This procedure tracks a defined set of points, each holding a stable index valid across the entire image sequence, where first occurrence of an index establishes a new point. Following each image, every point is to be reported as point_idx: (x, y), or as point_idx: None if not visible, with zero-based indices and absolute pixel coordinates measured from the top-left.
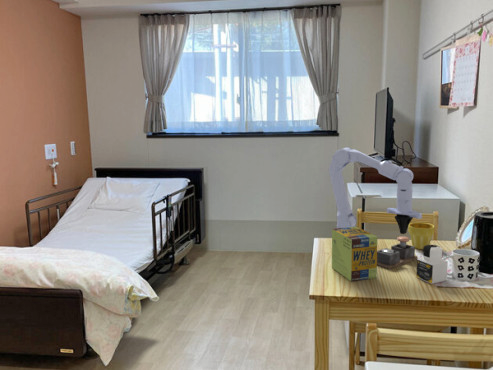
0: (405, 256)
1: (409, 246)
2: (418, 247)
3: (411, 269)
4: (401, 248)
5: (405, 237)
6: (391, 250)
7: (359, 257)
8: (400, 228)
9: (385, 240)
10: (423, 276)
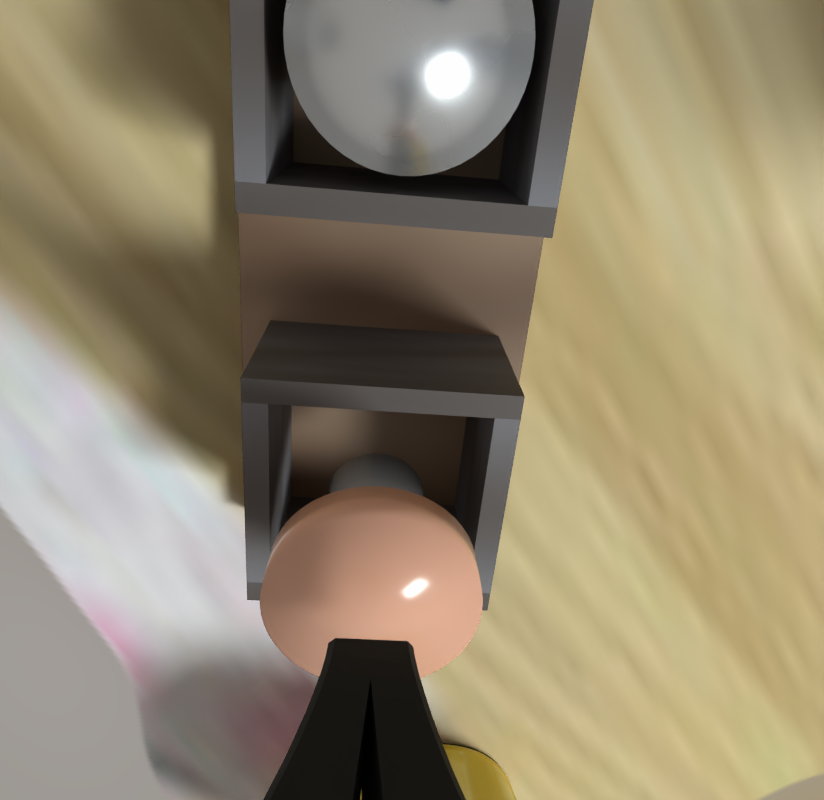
0: (262, 343)
1: None
2: None
3: (33, 100)
4: (331, 401)
5: None
6: (358, 114)
7: None
8: (393, 740)
9: (802, 759)
10: None
